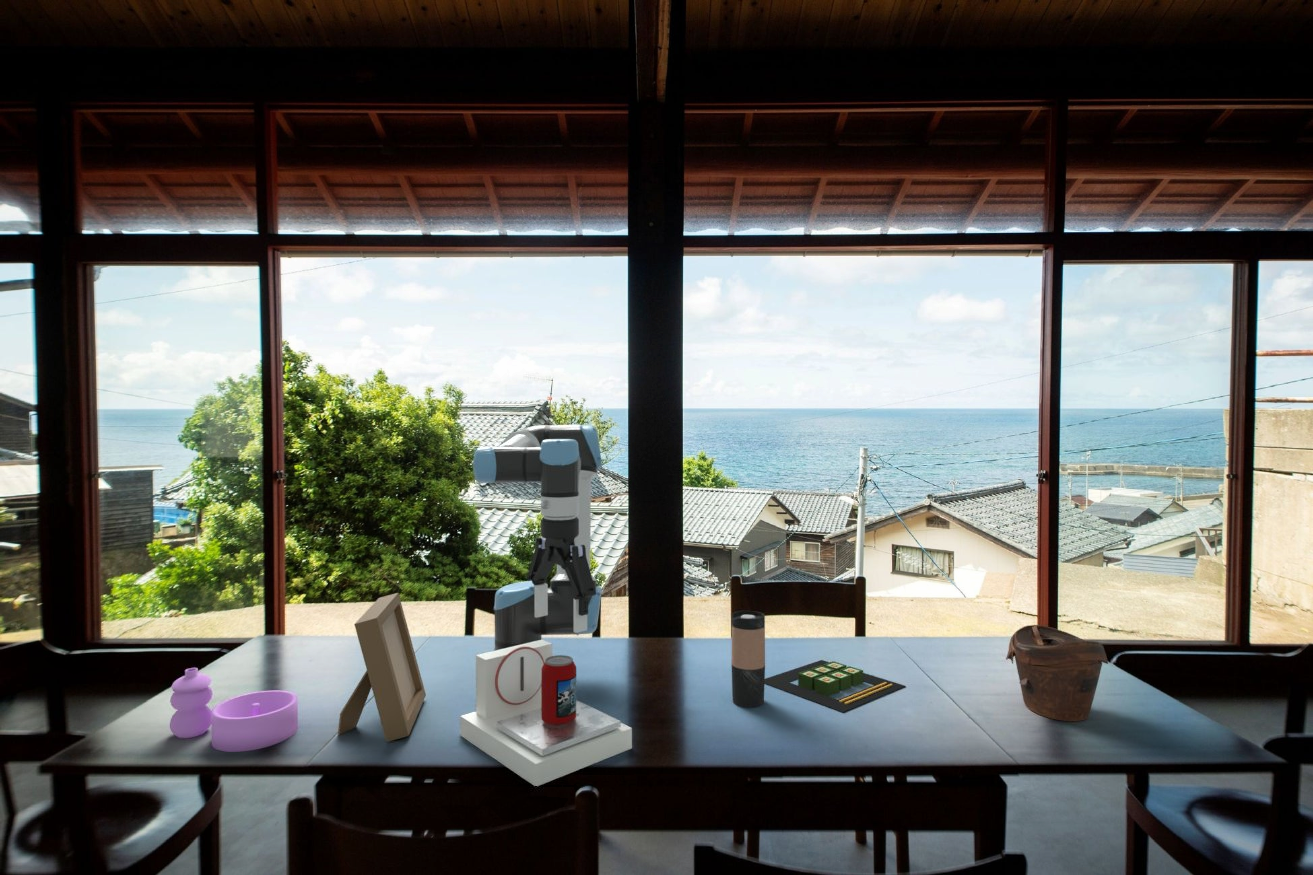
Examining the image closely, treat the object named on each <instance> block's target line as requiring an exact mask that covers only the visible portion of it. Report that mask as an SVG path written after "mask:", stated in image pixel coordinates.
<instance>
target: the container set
mask: <svg viewBox="0 0 1313 875" xmlns="http://www.w3.org/2000/svg"><path fill="white" fill-rule="evenodd" d="M211 682H212V680H211V677H210V676H209V675H207V674H204V673H199V668H198V667H191V668H186V669H185V670H184V675H182V676H181V677H179V678H177V679H176V680H174V681H173V682H172V685H171V689H172V691H173V692H172V694H171V696H170V701H169V702H170V705H171V707H172V708H173V709H175V710H176V711H175V712H174V713H173V715H172V716H171V718H170V722H169V729H170V732H172V733H173V735H174V736H176V737H177V738H178V739H190V738H195V737H198V736H201V735H203V734H204V733H206V732H207V731H208V729H209V728H211V729H210V730H211V746H212V748H213V749H215V750H218V751H222V752H227V753H228V752H231V753H237V752H246V751H247V752H249V751H255V750H260V749H264V748H268V747H271V746H274V745H277V744H279V743H281V742H284V741H286V740H287V739H290V738H291V737H292V736H293V735H295V733H297V731H298V729H299V716H298V715H299V713H298V712H299V710H298V709H299V708H298V706H299V705H298V703H299V702H298V701H299V700H298V699H299V698H298V695H297V694H296V693H294V692H291V691H288V690H287V691H286V690H278V689H277V690H276V689H275V690H262V691H254V692H249V693H245V694H241V695H236V696H234V697H231V698H228V699H226V700H223V701H221V702H220V703H218V704H217V705H215V706H214V707H213V708H212V709H211V708H210V707H209V706H208V703H210V701H211V700H212V697H213V690H212V688H211V687H210V685H211Z"/></svg>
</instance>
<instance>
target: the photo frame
mask: <svg viewBox="0 0 1313 875" xmlns="http://www.w3.org/2000/svg"><path fill="white" fill-rule="evenodd" d="M400 597H401V596H400V594H399V592H396V593H392V594H388V595H385V596H381V597H378V598H377V599H376V600H375V601H374V603H372V605H371V606H370V607H369V608H368V609H367V610H366V611H365V612H364V613H363V614H362V615H361V616H360V617H359V618H358V619H357V621H356V622H355V623H354V629H355V632H356V635H357V638H358V644H359V646H360V651H361V653H362V658H363V661H364V665H365V668H366V670H365V673H364V674H363V676H362V678H361V679H360V680H359V682H358V684H357V686H355V689H354V690H353V692H352V694H351V695H350V697H349V698H348V701H347V702H346V703H345V705H344V707H343V708H342V710H341V711H340V713H339V720H338V729H337V735H339V736H340V735H342V734H344V733H347V732H348V731H349V732H350V731H351V730H353V729H355V728H356V727H358V723H359V721H360V717H361V716H362V713H363V710H364V708H365V705H366V702H367V699H368V696H369V694H370V692H371V690H372V694H373V697H374V701H375V704H376V709H377V712H378V716H379V719H380V722H381V727H382V729H383V734H384V737H385V741H386V743H389V742H393V741H396V740H399V739H401V738H405V737H408V736H410V734H411V731H412V730H413V726H414V724H415V721H416V719H417V718H418V714H419V712H420V710H421V707H422V705H423V704H424V701H425V698H426V696H427V694H426V690H425V687H424V686H425V685H424V683H423V678H422V676H421V675H422V674H421V671H420V668H419V664H418V661H417V657H416V654H415V653H416V652H415V650H414V647H413V641H412V640H411V639H412V638H411V634H410V630H409V628H408V623H407V619H406V616H405V612H404V608H403V604H402V602H401V598H400Z"/></svg>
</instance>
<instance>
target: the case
mask: <svg viewBox="0 0 1313 875" xmlns="http://www.w3.org/2000/svg"><path fill="white" fill-rule="evenodd" d="M1014 659H1015V665H1016V670H1017V674H1018V680H1019V684H1020V689H1021V695H1022V700H1023V703H1024V705H1025V707H1026V708H1027V709H1029V710H1030V711H1031V712H1033V713H1035V714H1037V715H1040V716H1043V717H1045V718H1048V719H1053V720H1057V721H1062V722H1063V721H1064V722H1080V721H1084V720H1087V719H1088V718H1089V717H1090V714H1091V709H1092V706H1093V702H1094V699H1095V695H1096V691H1097V687H1098V683H1099V680H1100V675H1101V672H1102V671H1101V670H1102V667H1103V663H1104V664H1107V665H1108V664H1109V661H1108V658H1107V654H1106V651H1105V648H1104V645H1102V644H1101V642H1099V641H1091V640H1085V639H1083V638H1080V637H1079V636H1076V635H1074V634H1072V633H1069V632H1066V631H1063V630H1061V629H1057V628H1054V627H1050V626H1046V625H1040V624H1032V625H1031V624H1030V625H1025V626H1022V627H1020V628H1019V629H1017V630H1016V631H1015V632H1014V633H1013V634H1012V636H1010V640H1009V644H1008V650H1007V654H1006V656H1005V660H1010V661H1011V664H1012V665H1014Z"/></svg>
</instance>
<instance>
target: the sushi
mask: <svg viewBox="0 0 1313 875" xmlns="http://www.w3.org/2000/svg"><path fill="white" fill-rule="evenodd" d="M794 681H797V684H794V683H793V682H794ZM864 683H865V684H868V685H871V686H869V687H866V688H864V689H861V690H859V691H857V692H853V693H852V694H849V695H847V696H844V697H841V698H839V699H837V698H834V697H832V696H833V695H836V694H838V693H840V692H843V691H846V690H849V689H851V688H854V687H856V686H859V685H861V684H864ZM765 685H766V686H769V687H771V688H774V689H777V690H780V691H781V692H784V693H787V694H790V695H792V696H796V697H799V698H801V699H804V700H806V701H809V702H811V703H815V704H817V705H820V706H822V707H826V708H828V709H830V710H834V711H835V712H839V713H842V714H845V713H847V712H849V711H851V710H854V709H857V708H859V707H861V706H864V705H866V704H868V703H870V702H871V703H872V702H873V701H875V700H878V699H880V698H882V697H885V696H888V695H890V694H893V693H895V692H897V691H900V690H903V689H904V688H906V685H904V684H901V683H897V682H895V681H891V680H889V679H885V678H882V677H879V676H875V675H871V674H869V673H865V672H864V670H863V669H860V668H856V667H853V666H850V665H849V666H847V665H846V664H843V663H840V662H836V661H834V660H833V661H830V662H829V661H826V660H824V659H820V660H817V661H814V662H811V663H808V664H805V665H802V666H799V667H797V668H796V667H795V668H794V669H789V670H787V671H784V672H781V673H778V674H776V675H772V676H769V677H765Z"/></svg>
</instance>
